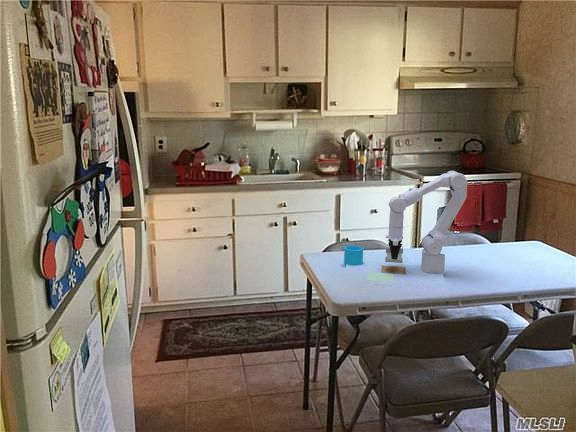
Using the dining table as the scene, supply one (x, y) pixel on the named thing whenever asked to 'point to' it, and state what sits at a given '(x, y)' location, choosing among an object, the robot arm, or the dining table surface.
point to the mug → (353, 255)
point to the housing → (389, 259)
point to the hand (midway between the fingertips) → (394, 257)
